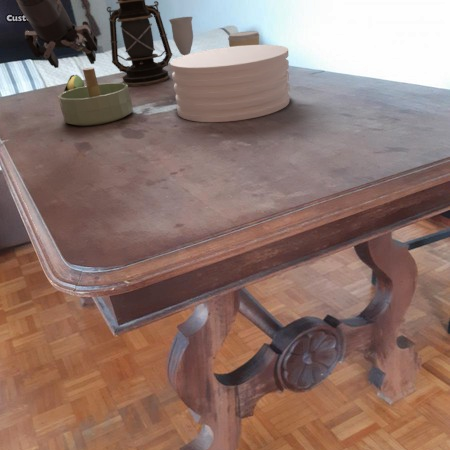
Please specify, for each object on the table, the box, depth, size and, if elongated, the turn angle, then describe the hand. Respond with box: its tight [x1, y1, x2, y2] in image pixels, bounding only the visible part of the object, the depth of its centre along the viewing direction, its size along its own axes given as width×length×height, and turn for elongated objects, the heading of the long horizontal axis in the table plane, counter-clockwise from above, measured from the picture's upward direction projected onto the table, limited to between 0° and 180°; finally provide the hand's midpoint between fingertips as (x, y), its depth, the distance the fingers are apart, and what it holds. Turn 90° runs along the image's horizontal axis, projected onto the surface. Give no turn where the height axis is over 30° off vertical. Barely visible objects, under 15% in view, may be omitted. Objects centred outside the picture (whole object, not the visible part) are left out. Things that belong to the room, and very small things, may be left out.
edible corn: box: [63, 74, 85, 92], centre depth 152 cm, size 5×20×5 cm, turn 9°
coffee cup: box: [227, 30, 260, 47], centre depth 143 cm, size 9×9×12 cm
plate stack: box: [169, 44, 290, 123], centre depth 115 cm, size 28×28×12 cm
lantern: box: [106, 0, 174, 87], centre depth 151 cm, size 20×16×30 cm
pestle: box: [82, 67, 101, 97], centre depth 120 cm, size 6×6×11 cm
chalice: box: [168, 16, 194, 56], centre depth 139 cm, size 7×7×18 cm
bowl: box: [57, 82, 134, 127], centre depth 122 cm, size 18×18×6 cm
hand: (74, 62), depth 109 cm, fingers open, 8 cm apart
